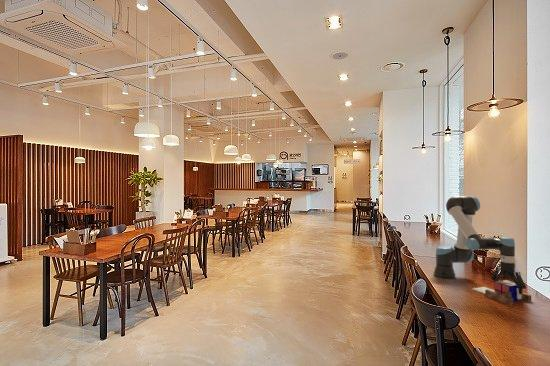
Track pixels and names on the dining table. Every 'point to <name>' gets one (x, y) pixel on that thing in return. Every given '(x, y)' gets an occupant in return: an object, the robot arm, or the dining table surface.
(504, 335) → the dining table surface
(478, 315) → the dining table surface
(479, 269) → the dining table surface
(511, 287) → the puzzle cube
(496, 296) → the plane body cradle
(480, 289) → the white square panel
